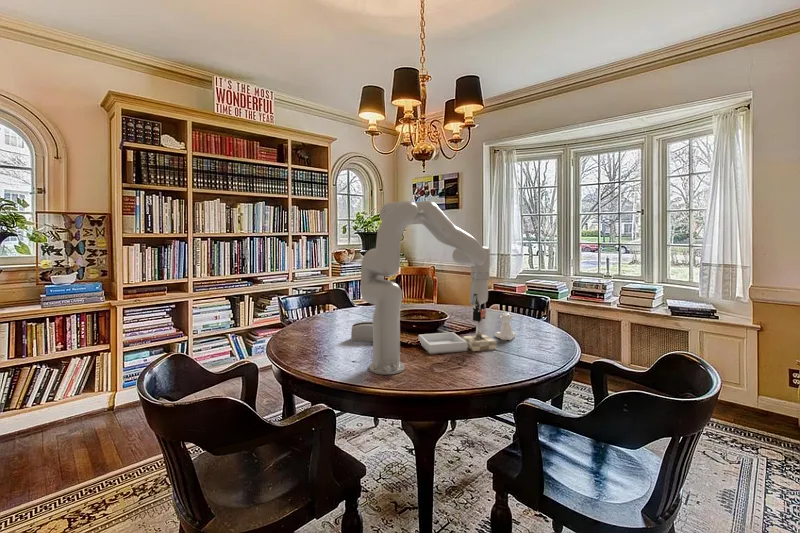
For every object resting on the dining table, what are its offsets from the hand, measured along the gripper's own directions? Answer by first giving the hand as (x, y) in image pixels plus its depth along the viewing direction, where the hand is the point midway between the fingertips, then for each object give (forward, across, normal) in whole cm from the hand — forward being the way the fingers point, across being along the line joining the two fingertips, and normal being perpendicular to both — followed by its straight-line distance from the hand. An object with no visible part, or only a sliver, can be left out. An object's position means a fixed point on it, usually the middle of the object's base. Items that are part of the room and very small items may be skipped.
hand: (479, 319), depth 166 cm
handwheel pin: (+8, 0, 0) cm, 8 cm away
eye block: (+12, 0, 0) cm, 12 cm away
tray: (+12, +8, -13) cm, 19 cm away
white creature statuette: (+12, -18, +6) cm, 22 cm away
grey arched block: (+12, +15, -45) cm, 49 cm away
